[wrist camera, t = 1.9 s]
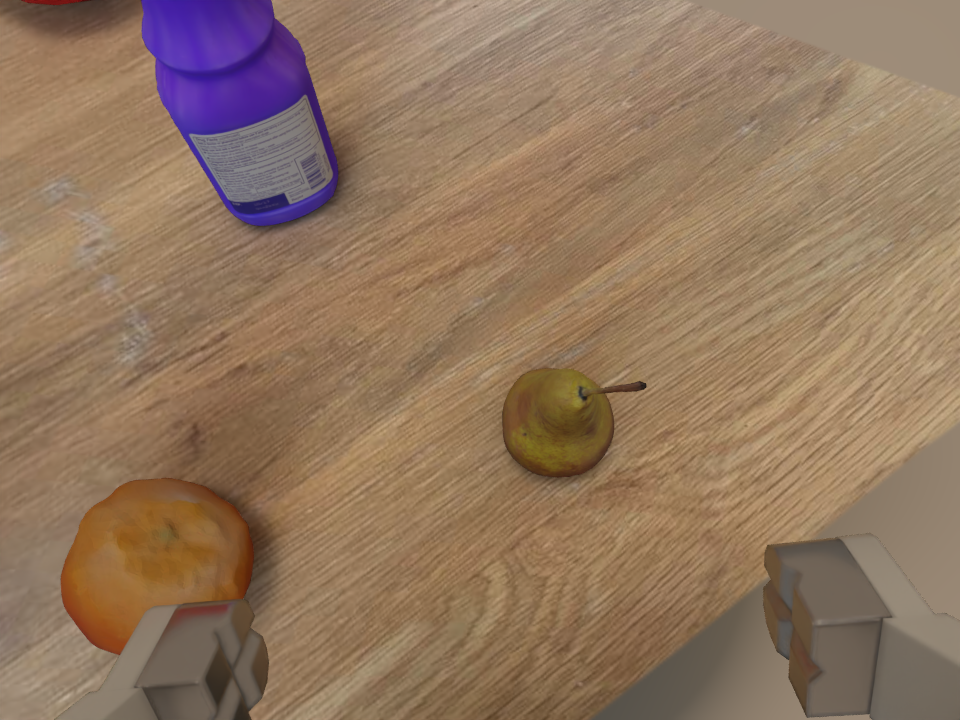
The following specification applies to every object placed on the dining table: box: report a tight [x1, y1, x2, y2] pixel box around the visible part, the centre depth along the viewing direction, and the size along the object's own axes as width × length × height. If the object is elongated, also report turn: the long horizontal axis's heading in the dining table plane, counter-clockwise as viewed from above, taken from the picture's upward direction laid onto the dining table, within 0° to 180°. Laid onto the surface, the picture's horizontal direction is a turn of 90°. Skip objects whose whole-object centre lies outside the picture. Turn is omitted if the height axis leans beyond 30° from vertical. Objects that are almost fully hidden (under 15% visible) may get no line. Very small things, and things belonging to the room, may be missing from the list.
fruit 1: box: [61, 478, 254, 655], centre depth 33 cm, size 8×8×8 cm
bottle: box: [141, 0, 338, 226], centre depth 35 cm, size 7×6×17 cm
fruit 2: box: [502, 368, 646, 478], centre depth 32 cm, size 6×6×12 cm
